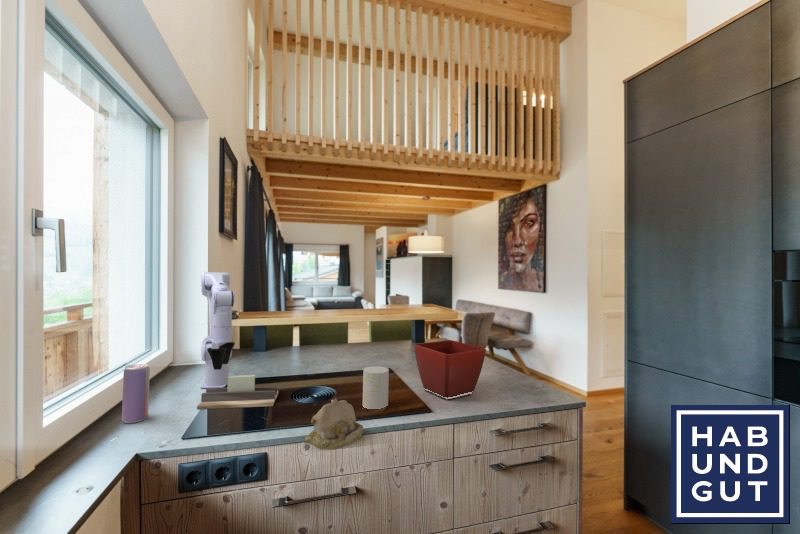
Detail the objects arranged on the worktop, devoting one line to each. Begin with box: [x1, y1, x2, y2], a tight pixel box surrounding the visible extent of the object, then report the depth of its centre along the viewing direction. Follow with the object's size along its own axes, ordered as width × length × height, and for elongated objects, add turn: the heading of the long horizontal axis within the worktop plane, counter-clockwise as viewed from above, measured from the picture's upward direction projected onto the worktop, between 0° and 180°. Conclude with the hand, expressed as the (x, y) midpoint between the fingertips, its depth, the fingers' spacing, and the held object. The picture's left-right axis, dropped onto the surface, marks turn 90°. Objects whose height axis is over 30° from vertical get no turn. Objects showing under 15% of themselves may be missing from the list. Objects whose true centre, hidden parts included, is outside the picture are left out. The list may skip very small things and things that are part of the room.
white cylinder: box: [362, 365, 390, 409], centre depth 114 cm, size 8×8×12 cm
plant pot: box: [413, 339, 487, 398], centre depth 130 cm, size 19×19×17 cm
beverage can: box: [121, 363, 151, 424], centre depth 101 cm, size 6×6×15 cm
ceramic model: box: [304, 398, 364, 450], centre depth 93 cm, size 14×11×10 cm
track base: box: [196, 386, 279, 410], centre depth 117 cm, size 12×22×4 cm, turn 101°
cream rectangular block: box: [226, 374, 256, 392], centre depth 117 cm, size 2×8×7 cm, turn 107°
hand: (221, 366), depth 121 cm, fingers open, 7 cm apart
